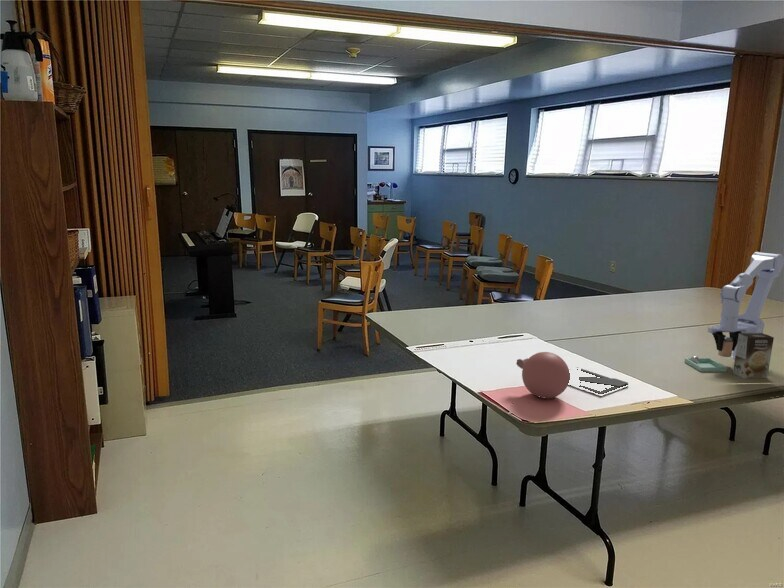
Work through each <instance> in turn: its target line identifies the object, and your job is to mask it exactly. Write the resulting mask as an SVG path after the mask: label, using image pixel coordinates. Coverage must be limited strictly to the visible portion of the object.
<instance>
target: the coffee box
mask: <svg viewBox="0 0 784 588" xmlns="http://www.w3.org/2000/svg"><path fill="white" fill-rule="evenodd" d="M774 339H775V337H774V336H771V335H768V334H766V333H764V332H763V333H739V336H738V343H737V349H736V356H735V359H734V363H733V369H732V374H734V375H736V376H738V377H739V378H742V379H768V376H769V370H770V364H771V357H772V352H773V351H772V350H773V345H774Z"/></svg>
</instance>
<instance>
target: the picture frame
mask: <svg viewBox="0 0 784 588" xmlns="http://www.w3.org/2000/svg"><path fill="white" fill-rule="evenodd" d="M577 370H578V369H577ZM581 371H583V372H586V373H589V374H592V375H595V376H596V377H579V380H580V381H585V382H590V383H597V384H604V385H611V386H614V387H611V388H609V389H607V388H605V389H606V390H603V391H601V392H600V391H597V390H594V389H591V388H588V387H585V386H581V385H580V386H579V387H583V388H585V389H588V390H590V391H593V392H595V393H598V394H604V393H607V392H609V391H612V390H615V389H617V388H620V387H623V386H626V385H628V386H629V382H627V381H623V380H621V379H618V378H613V377H612V378H610V377H608V376H606V375H601V374H599V373H596V372H593V371H589V370H587V369H583V368H581ZM597 377H600V378H597ZM580 383H581V382H580Z"/></svg>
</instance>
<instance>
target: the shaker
mask: <svg viewBox="0 0 784 588" xmlns="http://www.w3.org/2000/svg"><path fill="white" fill-rule="evenodd" d="M732 340H733V338H731V337H730V336H726V337H725V339H724V342H723V347H722V351H719V350H718V354H717V355H718V356H720V357H723V358H725V357H726V358H731V355H733V351H732V347H733V341H732Z"/></svg>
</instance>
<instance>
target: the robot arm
mask: <svg viewBox="0 0 784 588" xmlns="http://www.w3.org/2000/svg"><path fill="white" fill-rule="evenodd" d="M783 268H784V255H783V254H781V253H769V252H760V251H755V252H754V253H753V254H752V255H751V257H750V264H749V265H748V267H747V269H745V271H744V272H742V273H739V274H737V276H736V277H735V278H734V279H733V280H732V281H731V282H730V283H729V284H726V285H724V286H723V287H722V288H721V290H720V292H719V296H720V303H721V304H722V305H721V312H720V320H719V325H716V326H715V325H714V326H708V328H707V332H708V333H710V334H712V336H713V339H714V342H715V347H716V351H718V352H719V351H722V347H723V342H724V339H725V337H727V335H726V334H724V333H728V334H729V337H731V338H733V340H732V341H733V347H732V354H731V357H730V358H731V359H732V360H735V356H736V349H737V343H738V336H739V333H763V334H764V328H765V322H764V321H763V320H762V318H761V317H760V316H761V313H762V310H763V307H764V306H765V302H766V300H767V297H768V295H769V294H770V290H771V287H772V285H773V283H774V280H775V279H776V278H779V277H780V274H781V273H782V270H783ZM757 276H758V279H757V281H756V284H755V287H754V290H753V292H752V294H751V297H750V299H749V302H748V305H747V306H746V309H745V312H744V313H742V314H740V307H741V302H742V301H743V300H744V298H745V295H746V293H747V290H748V289H749V287H751V285H753V284H754V278H755V277H757Z"/></svg>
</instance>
